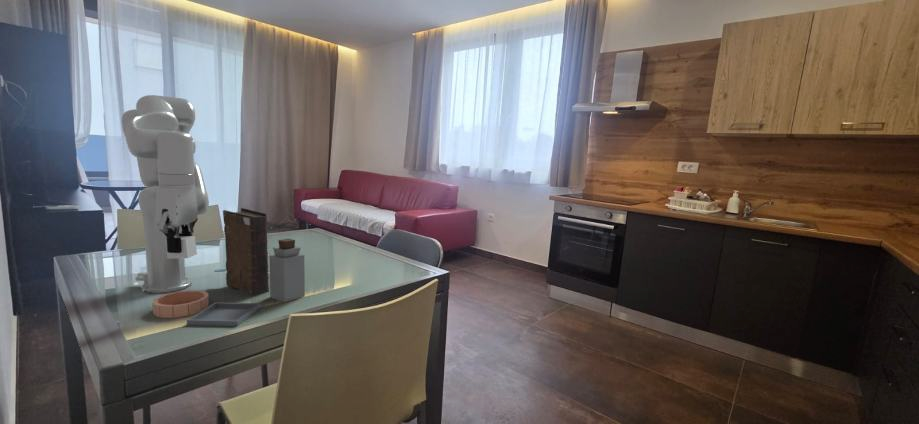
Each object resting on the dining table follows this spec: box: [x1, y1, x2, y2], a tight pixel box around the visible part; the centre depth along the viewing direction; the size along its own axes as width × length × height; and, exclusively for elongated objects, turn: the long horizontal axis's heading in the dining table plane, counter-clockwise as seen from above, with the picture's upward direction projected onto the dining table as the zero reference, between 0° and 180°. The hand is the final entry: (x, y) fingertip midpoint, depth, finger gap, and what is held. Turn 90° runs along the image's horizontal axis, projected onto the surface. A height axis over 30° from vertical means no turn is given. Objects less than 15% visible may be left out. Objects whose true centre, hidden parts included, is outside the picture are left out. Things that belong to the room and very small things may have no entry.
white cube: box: [165, 235, 198, 259], centre depth 103 cm, size 5×4×5 cm
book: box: [222, 207, 270, 295], centre depth 122 cm, size 17×7×25 cm, turn 50°
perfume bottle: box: [268, 238, 306, 303], centre depth 116 cm, size 7×7×18 cm
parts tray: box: [186, 301, 261, 327], centre depth 102 cm, size 12×12×2 cm
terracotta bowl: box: [152, 289, 210, 319], centre depth 105 cm, size 12×12×4 cm
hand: (180, 249), depth 103 cm, fingers closed on white cube, 4 cm apart
